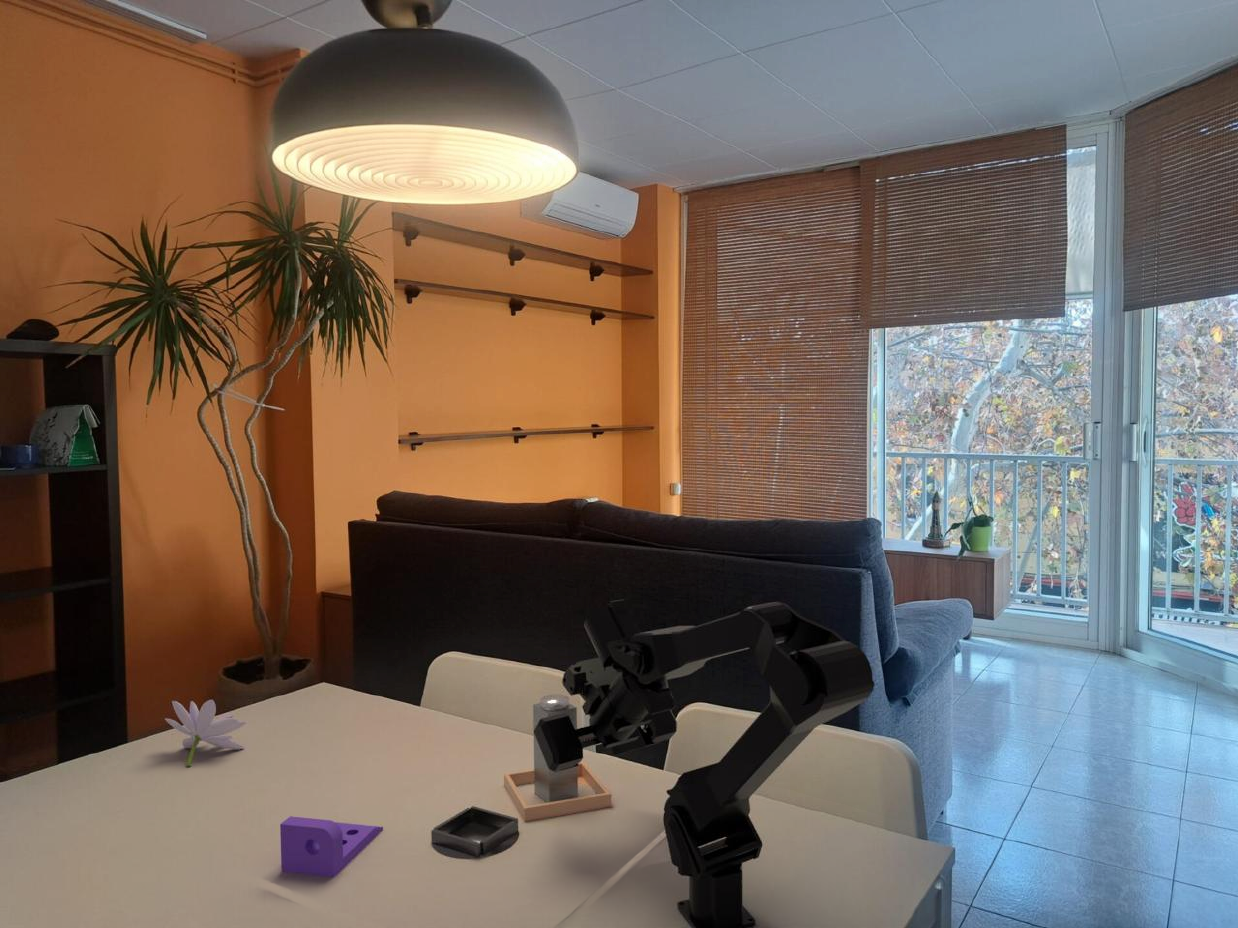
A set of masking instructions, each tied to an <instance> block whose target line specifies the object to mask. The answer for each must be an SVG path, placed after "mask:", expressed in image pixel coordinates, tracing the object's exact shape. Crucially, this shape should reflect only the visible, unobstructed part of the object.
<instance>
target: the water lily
mask: <svg viewBox="0 0 1238 928" xmlns="http://www.w3.org/2000/svg"><path fill="white" fill-rule="evenodd" d="M171 703H172V707H173V709H174V712H175V715H176V716H177V718H178V719H179V721H180V722H181V723H182V725H181V724H180V723H179V722H177V721H176V720H174V719H171V718H164V720H165V721H166V722H167V723H168V724H169V725H170V726H172V728H174V729H176V730H177V731H179V732H180V733H182V734H185V735H188V736H190V737H187V738H184V739H183V740H182V747H183V748H185V749H190V752H189V755H188V756H187V757H188V759H187V762H186V765H185V767H187V766H188V767H191V765H192V761H193V757H194V755H195V751H196V749H197V747H198V746H199V744H200V742H202V741H203V742H204V743H207V744H209V745H212V746H214V747H219V748H222V749H228V750H237V751H238V750H240V749H241V750H245V747H244V746H243V745H242V744H240V743H239V742H237V741H233V740H230V739H234V736H232V735H227V734H230V733H232V732H234V731H237V730H238V729H240V728H242V727H243V726H245V725H246V724H247V722H246V721H244V720H238V719H236V718H234V715H233V714H229V715H228V714H227V715H224V716H221V717H219V718H218V719H217V720H215V721H214V718H215V715H216V712H217V707H216V703H215V701H214V700H213V699H208V700H207V701H205V702H204V703H203V705H202V706H201V708H200V709H198V706H197V704H196V703H195V702H194V701H193V700H191V701H190V703H189V712H188V711H187V710H186V708H185V707H184V705H183V704H181V703H180V702H178V701H177V700H175V701H174V700H172V701H171ZM183 725H184V726H183Z"/></svg>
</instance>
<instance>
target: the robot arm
mask: <svg viewBox="0 0 1238 928" xmlns="http://www.w3.org/2000/svg"><path fill="white" fill-rule="evenodd" d="M583 627H584V629H585V631H586V632H587V635H588V637H589V640H590V641H591V644H592V645H593V647H594V649H595V653H596V655H597V656H598V657H595V658H590V659H585V660H581V661H577V662H576V664H573V665H570V666H569V667H568V668H567V670H565V672H563V675H562V681H561V682H562V686H563V687H564V688H565V690H566V691H567V692H568V694H569V695H570V696H576V695H579V696H580V697H581V698H582V700H584V701H585V702H584V703H583V704H582V706H581V709H582V711H583V712H584V715H585V716H589V719H588V720H589V721H588V723H589V725H587V726H584V727H580V728H577V729H575V728H574V726H573V724H572V722H571V719H570V717H569V716H568V715H567V714H565V713H562V714H558V715H554V716H550V717H546V718H542V719H540V720H539V722H538V723H537V725H536V727H535V729H533V731H532V732H533V735H534V734H535V737H536V739H537V742H538V744H539V747H540V749H541V751H542V754H543V756H544V759H545V761H546V764H547V766H548V769H550V770H552V771H554V772H555V773H556V772H560V771H563V770H566V769H570V768H573V767H577V766H578V763H579V762H582V761H583V759H584V749H587V748H591V747H595V746H598V745H602V746H603V749H604V750H606V749H608V748H610V749H611V752H612V754H613V756H618V755H621V754H625V753H629V752H631V751H635V750H636V751H637V750H639V749H642V748H645V747H650V746H652V745H653V746H654V745H656V744H660V743H661V742H663V741H666V740H671V739H672V737H673V736H674V735H675V734H676V732H677V729H678V721H677V719H676V717H675V715H674V714H673V711H672V710H674V709H675V708H676V704H675V698H674V696H673V693H672V689H671V688H670V687H669V683H668V680H672V679H675V678H682V677H685V676H689V675H691V674H693V673H694V672H696V671H698V670H700V669H702V668H703V667H704V666H705V664H706V663H707V661H709V660H711V659H715V658H719V657H722V656H723V657H724V656H726V655H730V654H734V653H738V652H741V651H744V650H745V651H746V650H750V651H751V652H752V653H753V654H754V657H755V660H756V663H757V666H758V671H759V674H760V676H762V678H763V679H764V680H765V681H766V682H767V683H768V684H769V697H770V701H769V702H768V704H767V705H766V706H765V708H763V710H762V711H761V712H760V714H758V716H757V717H756V718H755V719H754V720H753V722H752V723H751V724H750V725H749V726H748V727H747V729H746V730H745V731H744V732H743V734H742V735H741V736H740V737H739V738H738V739H737V740H736V741H735V743H734V744H733V745H732V746H731V747H730V749H729V750H728V751H727V752H726V753H725V754H724V756H723V757H722V758H721V759H720V760H719V761H718V762H715V763H712V764H709V765H705V766H701V767H697V768H695V769H692V770H689V771H685V772H683V773H682V774H681V775H680V776H679V777H678V779H677V780H676V783H675V784H674V786H673V787H672V788H669V789H667V790H665V791H666V794H667V795H668V797H667V799H666V801H665V803H664V807H663V811H664V812H663V817H662V818H663V820H662V821H663V827H664V832H665V837H666V841H667V846H668V851H669V855H670V860H671V863H672V865H674V866H675V867H677V873H678V874H679V875H680V876H682V877H683V876H684V877H688V899H685V900H679V901H678V902H677V903H676V904H677V906H676V907H677V909H678V911H679V912H680V913H681V914H682V916H683V917H684V918H685V919H686V921H687V923H689V924H690V926H691V927H692V928H751V927H754V926H756V919H755V918H754V916H752V914H751V913H750V912H749V910H748V909H746V908H745V907H744V905H743V903H744V902H743V898H744V897H743V863H746V862H748V861H752V860H756V859H759V857H760V855H761V851H762V848H763V842H762V841H763V840H762V839H761V837H760V835H759V833H758V831H757V829H756V827H755V826H754V823H753V822H752V820H751V818H750V816H749V815H750V812H751V803H750V798H751V797H752V796H753V794H754V793H755V792H757V790H759V788H760V787H761V786H762V785H763V784H764V783H765V782H766V781H767V779H769V777H770V776H771V775H772V774H773V773H774V772H775V771H776V770H777V769H778V768H779V767H780V766H781V765H782V763H784V761H785V760H786V759H787V758H788V757H789V756H790V755H791V754H792V753H793V752H794V751H795V749H797V748H798V746H799V745H800V744H801V743H802V742H803V741H804V740H805V739H806V738H807V737H808V736H809V735H810V734H812V732H813V731H814V730H815V728H817V727H819V726H821V725H823V724H825V723H827V722H829V721H831V720H833V719H835V718H837V717H839V716H841V715H843V714H845V713H847V712H848V711H850V710H852V709H854V708H855V707H857V706H859V704H861V703H862V702H864V701H866V700H867V699H869V697H870V696H871V694H872V693H873V690H874V687H875V681H874V680H873V670H872V666H871V664H870V661H869V659H868V658H867V656H866V654H865V652H864V651H863V650H862V649H861V648H860V647H859V646H858V645H856V644H854V643H853V642H851V641H848V640H847V639H845V638H844V637H843V636H841V635H840V634H839V633H838V632H836V631H835V630H833V629H831V628H829V627H827V626H825V625H823V624H820V623H817V622H815V621H813V620H812V619H811V620H810V619H808V618H806V617H803V616H802V615H801V614H800V613H798V612H797V611H795V610H794V609H793V608H792V607H791V606H790V605H788V604H786V603H782V602H780V601H776V602H775V601H774V602H767V603H763V604H757V605H751V606H747V607H745V608H744V609H743V610H741V611H739V612H736V613H733V614H730V615H727V616H724V617H723V616H722V617H721V618H716V619H715V620H710V621H707V622H705V623H702V624H699V625H677V626H672V627H666V628H662V629H661V628H660V629H659V628H658V629H654V630H650V631H644V632H640V630H639V629H638V626H637V624H636V623H635V621H634V619H633V616H632V615H631V612H630V610H629V607H628V605H627V603H626V601H625V599H618V600H611V601H609V603H608V604H607V606H604V607H602V608H600V609H599V610H597V611H595V612H594V613H592V614H591V615H589V616H587V617H586V618H585V621H584V623H583ZM782 643H783V644H784V645H785V646H786V647H788V648H789V649H791V650H794V651H791V652H788V653H787V652H786V651H784V649H783V648H781V646H779V645H778V644H782ZM618 670H619V672H618Z"/></svg>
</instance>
